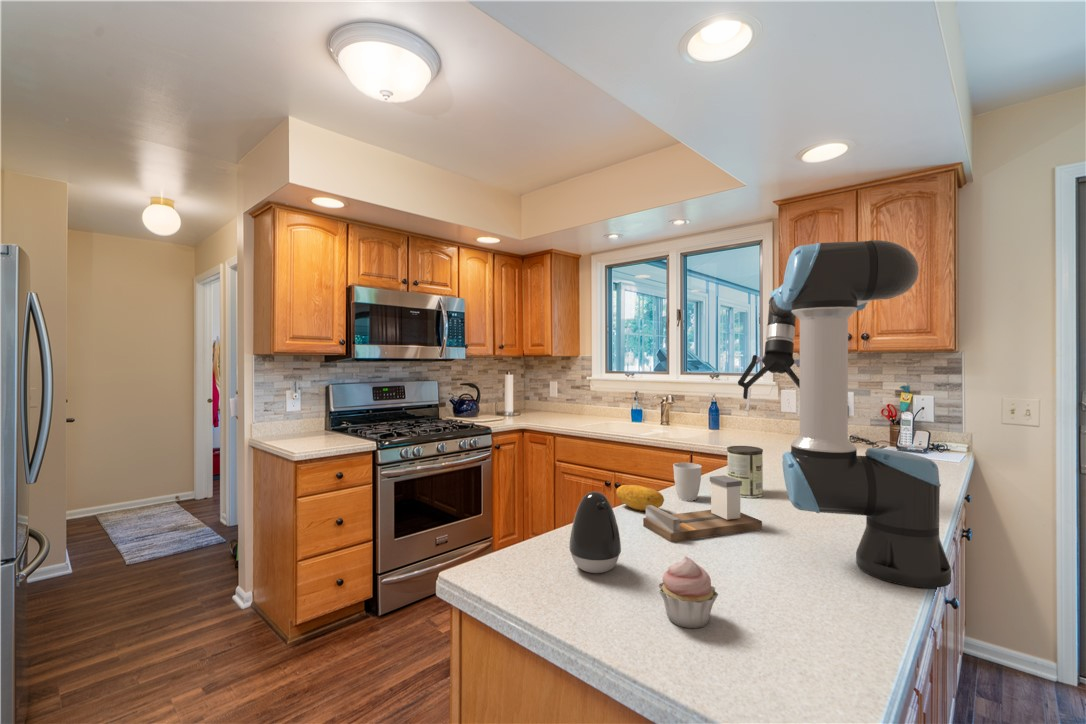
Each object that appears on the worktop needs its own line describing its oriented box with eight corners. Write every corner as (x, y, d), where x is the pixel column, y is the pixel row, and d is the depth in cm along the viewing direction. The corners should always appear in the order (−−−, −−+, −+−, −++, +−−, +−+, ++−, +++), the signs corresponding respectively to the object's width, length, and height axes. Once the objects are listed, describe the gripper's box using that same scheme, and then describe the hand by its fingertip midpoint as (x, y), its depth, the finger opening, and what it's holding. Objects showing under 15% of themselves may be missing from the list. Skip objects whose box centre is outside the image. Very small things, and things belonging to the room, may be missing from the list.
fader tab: (724, 510, 131) (724, 475, 131) (741, 518, 125) (741, 480, 125) (709, 512, 129) (709, 476, 129) (726, 520, 123) (726, 482, 123)
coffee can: (730, 488, 163) (730, 444, 163) (765, 492, 158) (765, 447, 158) (723, 495, 154) (723, 449, 154) (759, 500, 149) (759, 452, 149)
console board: (728, 515, 135) (728, 496, 135) (762, 529, 123) (762, 508, 123) (643, 525, 126) (643, 505, 126) (670, 542, 115) (670, 520, 115)
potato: (652, 518, 133) (652, 492, 132) (611, 507, 142) (611, 483, 142) (669, 511, 138) (669, 487, 138) (628, 501, 148) (628, 478, 148)
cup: (698, 495, 154) (698, 462, 154) (704, 503, 146) (704, 468, 146) (671, 494, 155) (671, 462, 155) (675, 502, 147) (675, 468, 147)
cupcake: (681, 599, 87) (681, 541, 87) (729, 621, 80) (729, 558, 80) (644, 615, 82) (644, 554, 82) (693, 641, 74) (692, 573, 74)
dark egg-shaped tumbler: (579, 582, 94) (579, 501, 94) (563, 561, 104) (562, 487, 104) (630, 576, 97) (629, 496, 97) (608, 555, 107) (608, 484, 107)
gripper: (826, 347, 145) (821, 420, 142) (734, 341, 156) (727, 409, 152) (830, 341, 139) (824, 417, 135) (733, 335, 149) (726, 406, 146)
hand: (773, 413), depth 144 cm, fingers open, 13 cm apart
